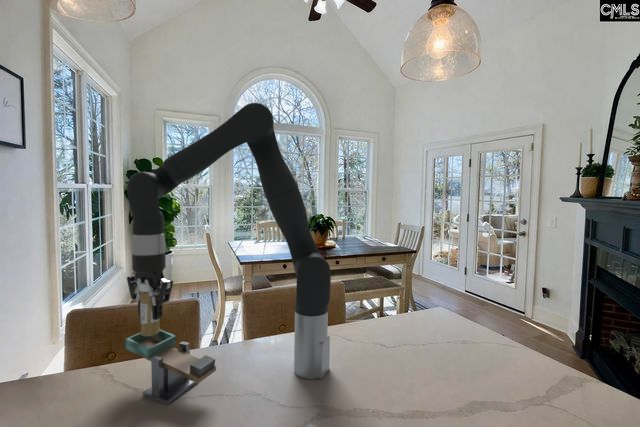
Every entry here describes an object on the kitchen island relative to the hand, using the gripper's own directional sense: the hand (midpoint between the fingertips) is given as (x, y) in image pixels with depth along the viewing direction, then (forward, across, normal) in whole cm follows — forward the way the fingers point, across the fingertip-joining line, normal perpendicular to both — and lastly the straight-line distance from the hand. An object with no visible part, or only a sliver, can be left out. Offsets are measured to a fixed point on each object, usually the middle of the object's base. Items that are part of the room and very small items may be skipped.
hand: (150, 316), depth 82 cm
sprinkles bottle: (+4, 0, 0) cm, 4 cm away
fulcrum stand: (+17, -7, 0) cm, 19 cm away
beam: (+9, -7, 0) cm, 12 cm away
